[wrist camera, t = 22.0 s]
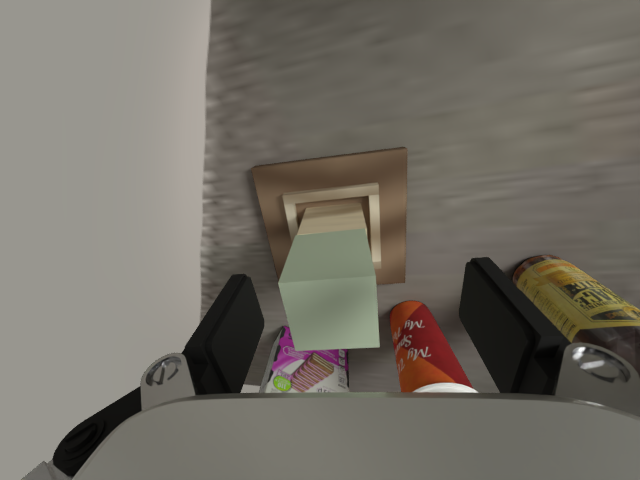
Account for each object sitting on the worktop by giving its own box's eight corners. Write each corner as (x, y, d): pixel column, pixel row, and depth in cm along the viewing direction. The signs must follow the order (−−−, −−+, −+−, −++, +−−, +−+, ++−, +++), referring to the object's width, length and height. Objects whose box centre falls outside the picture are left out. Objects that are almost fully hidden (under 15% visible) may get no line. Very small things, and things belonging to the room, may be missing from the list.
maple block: (306, 207, 28) (296, 234, 22) (360, 202, 28) (366, 228, 21) (313, 254, 31) (307, 290, 25) (363, 251, 30) (369, 286, 24)
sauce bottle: (575, 256, 30) (907, 457, 13) (546, 297, 33) (784, 508, 15) (521, 247, 30) (779, 435, 13) (496, 288, 33) (679, 491, 15)
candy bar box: (349, 347, 40) (355, 484, 25) (335, 366, 42) (333, 502, 27) (282, 322, 38) (247, 452, 24) (271, 343, 40) (233, 474, 26)
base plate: (255, 165, 28) (247, 170, 26) (403, 146, 26) (409, 149, 24) (283, 284, 35) (279, 295, 33) (402, 275, 33) (407, 287, 31)
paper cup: (394, 288, 34) (426, 389, 22) (447, 302, 35) (509, 409, 22) (373, 329, 38) (390, 436, 25) (422, 341, 38) (463, 453, 26)
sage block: (295, 235, 22) (278, 283, 16) (364, 228, 21) (375, 275, 15) (306, 290, 25) (295, 351, 18) (369, 286, 24) (379, 347, 18)
